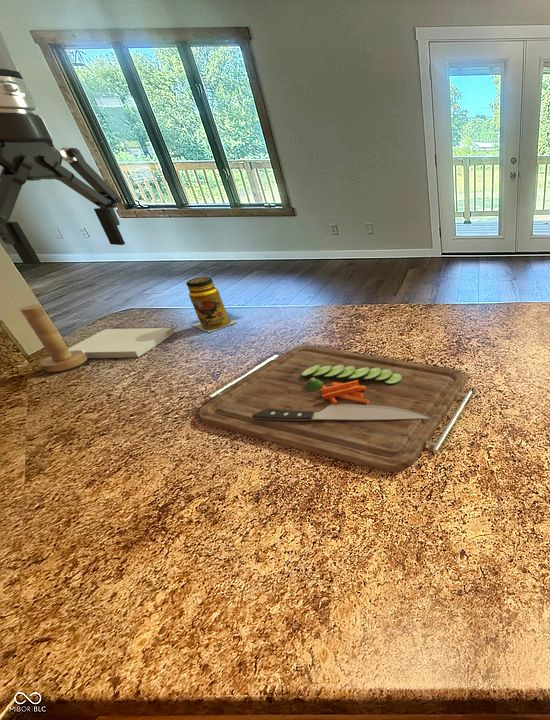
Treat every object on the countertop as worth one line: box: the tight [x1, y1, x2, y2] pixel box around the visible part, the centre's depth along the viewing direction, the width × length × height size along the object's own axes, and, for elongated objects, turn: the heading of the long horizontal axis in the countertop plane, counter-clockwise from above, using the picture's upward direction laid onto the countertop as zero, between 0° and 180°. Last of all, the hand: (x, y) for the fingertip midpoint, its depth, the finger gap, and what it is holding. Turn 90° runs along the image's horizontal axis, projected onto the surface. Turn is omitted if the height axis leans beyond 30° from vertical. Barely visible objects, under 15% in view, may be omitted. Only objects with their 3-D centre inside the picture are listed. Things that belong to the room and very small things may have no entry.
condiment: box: [186, 276, 239, 333], centre depth 95 cm, size 7×8×12 cm
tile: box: [67, 327, 175, 359], centre depth 88 cm, size 16×12×2 cm
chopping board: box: [198, 344, 473, 473], centre depth 69 cm, size 45×27×3 cm, turn 72°
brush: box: [19, 304, 91, 374], centre depth 75 cm, size 6×6×14 cm
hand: (79, 253), depth 68 cm, fingers open, 13 cm apart
